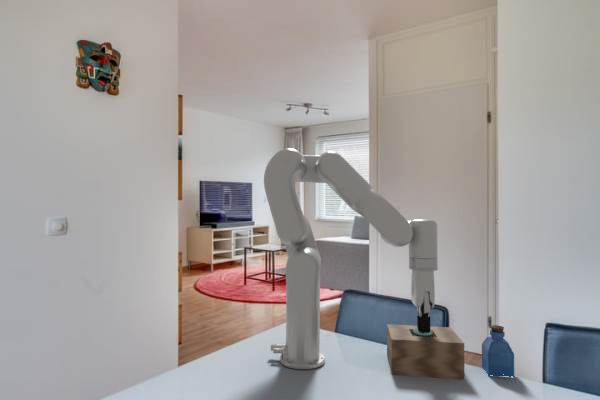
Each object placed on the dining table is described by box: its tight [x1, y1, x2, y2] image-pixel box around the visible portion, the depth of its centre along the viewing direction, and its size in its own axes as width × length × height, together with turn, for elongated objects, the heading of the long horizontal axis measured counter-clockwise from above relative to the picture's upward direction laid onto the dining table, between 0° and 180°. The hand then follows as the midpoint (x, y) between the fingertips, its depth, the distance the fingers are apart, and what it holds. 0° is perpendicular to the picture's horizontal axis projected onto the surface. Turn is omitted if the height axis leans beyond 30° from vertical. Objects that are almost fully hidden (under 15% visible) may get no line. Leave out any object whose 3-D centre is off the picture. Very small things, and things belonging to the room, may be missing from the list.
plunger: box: [413, 328, 433, 337], centre depth 106 cm, size 5×5×9 cm
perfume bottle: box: [481, 324, 515, 378], centre depth 102 cm, size 6×6×12 cm
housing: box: [386, 323, 465, 380], centre depth 106 cm, size 18×14×9 cm
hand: (423, 330), depth 106 cm, fingers closed
